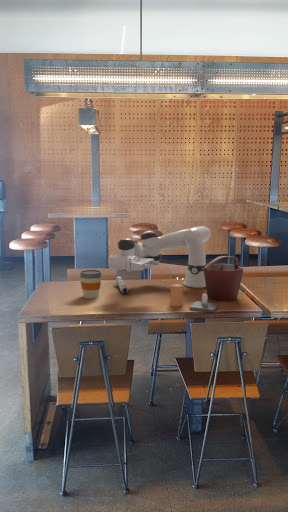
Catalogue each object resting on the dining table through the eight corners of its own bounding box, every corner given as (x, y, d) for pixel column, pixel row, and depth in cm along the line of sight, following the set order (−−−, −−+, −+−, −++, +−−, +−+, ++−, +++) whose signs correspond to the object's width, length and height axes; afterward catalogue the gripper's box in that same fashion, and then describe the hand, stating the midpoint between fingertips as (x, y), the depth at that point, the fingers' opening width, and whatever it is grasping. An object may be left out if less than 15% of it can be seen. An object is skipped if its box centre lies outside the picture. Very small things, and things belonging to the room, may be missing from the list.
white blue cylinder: (120, 288, 275) (114, 274, 298) (120, 298, 277) (114, 283, 300) (128, 287, 276) (122, 274, 299) (128, 297, 278) (122, 283, 301)
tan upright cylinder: (172, 302, 257) (173, 283, 255) (183, 303, 254) (184, 284, 252) (169, 305, 251) (169, 286, 249) (180, 306, 248) (180, 287, 246)
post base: (196, 303, 255) (196, 289, 254) (218, 306, 250) (219, 292, 249) (189, 309, 243) (190, 295, 242) (213, 312, 238) (213, 297, 237)
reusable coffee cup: (98, 299, 263) (97, 274, 260) (77, 298, 265) (77, 273, 263) (104, 294, 275) (103, 270, 272) (84, 293, 277) (84, 269, 275)
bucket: (232, 292, 282) (233, 252, 278) (250, 301, 261) (252, 258, 257) (196, 294, 274) (197, 254, 270) (212, 304, 254) (214, 260, 250)
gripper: (140, 265, 268) (162, 267, 263) (126, 271, 249) (149, 273, 244) (140, 255, 267) (162, 256, 262) (126, 260, 248) (149, 262, 243)
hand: (155, 265), depth 253 cm, fingers open, 8 cm apart
